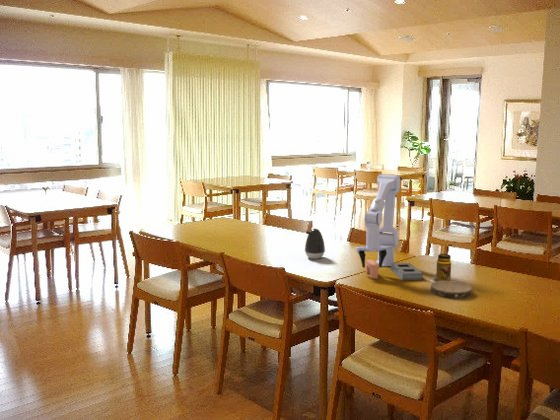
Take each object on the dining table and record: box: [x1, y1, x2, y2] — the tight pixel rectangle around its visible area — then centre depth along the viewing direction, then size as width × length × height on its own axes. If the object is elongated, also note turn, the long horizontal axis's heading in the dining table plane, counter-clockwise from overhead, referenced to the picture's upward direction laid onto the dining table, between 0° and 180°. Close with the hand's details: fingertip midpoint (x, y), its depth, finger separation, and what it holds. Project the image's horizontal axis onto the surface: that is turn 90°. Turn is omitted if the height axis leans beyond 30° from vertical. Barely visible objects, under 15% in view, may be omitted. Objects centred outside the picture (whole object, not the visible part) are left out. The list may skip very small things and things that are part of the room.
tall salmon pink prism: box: [365, 259, 379, 279], centre depth 256 cm, size 10×3×6 cm, turn 5°
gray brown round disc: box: [430, 280, 473, 300], centre depth 231 cm, size 16×16×3 cm
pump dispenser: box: [304, 228, 326, 260], centre depth 287 cm, size 10×10×15 cm
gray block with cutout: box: [390, 262, 423, 281], centre depth 258 cm, size 18×9×3 cm, turn 5°
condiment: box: [429, 253, 453, 283], centre depth 246 cm, size 7×8×12 cm
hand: (371, 266), depth 256 cm, fingers open, 7 cm apart
